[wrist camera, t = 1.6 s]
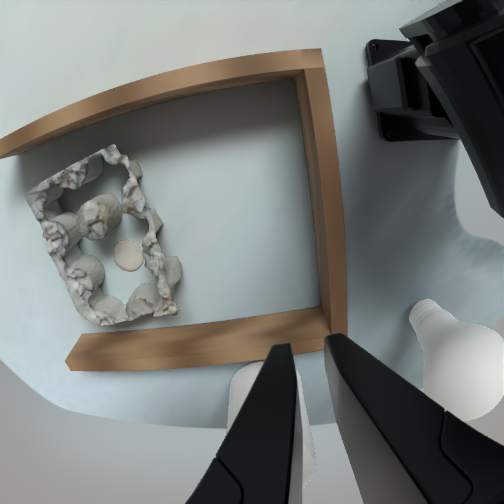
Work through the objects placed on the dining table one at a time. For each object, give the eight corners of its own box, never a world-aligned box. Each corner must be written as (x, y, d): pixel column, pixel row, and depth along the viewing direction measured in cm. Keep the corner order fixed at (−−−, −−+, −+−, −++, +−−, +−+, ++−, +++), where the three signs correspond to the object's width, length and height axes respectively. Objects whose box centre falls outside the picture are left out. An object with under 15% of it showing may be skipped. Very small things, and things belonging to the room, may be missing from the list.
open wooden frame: (307, 61, 16) (320, 48, 12) (334, 314, 22) (347, 345, 19) (17, 141, 17) (-14, 147, 13) (86, 343, 23) (70, 370, 20)
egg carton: (195, 287, 22) (185, 322, 18) (106, 309, 22) (85, 341, 18) (140, 136, 17) (115, 140, 14) (49, 178, 18) (14, 192, 14)
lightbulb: (415, 347, 24) (471, 444, 14) (369, 322, 23) (426, 436, 12) (460, 292, 22) (538, 377, 12) (419, 258, 21) (511, 352, 10)
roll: (330, 494, 13) (319, 521, 15) (302, 356, 24) (300, 401, 26) (216, 502, 13) (229, 528, 15) (225, 362, 24) (232, 406, 26)
